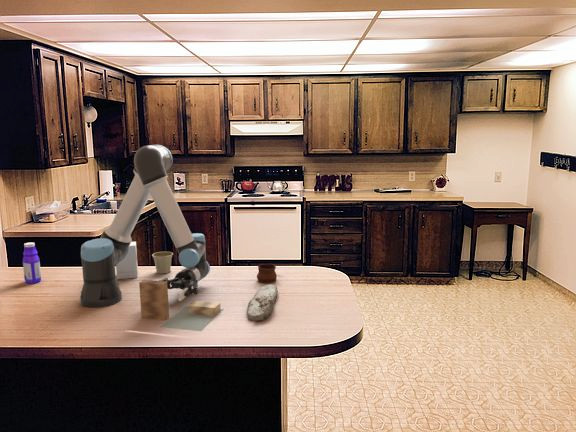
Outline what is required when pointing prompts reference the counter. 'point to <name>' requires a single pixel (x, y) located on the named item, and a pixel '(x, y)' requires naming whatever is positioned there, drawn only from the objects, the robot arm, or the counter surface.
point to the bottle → (31, 264)
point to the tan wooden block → (204, 308)
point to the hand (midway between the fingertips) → (161, 296)
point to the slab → (154, 299)
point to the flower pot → (162, 261)
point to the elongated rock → (262, 303)
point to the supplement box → (128, 264)
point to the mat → (188, 320)
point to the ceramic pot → (267, 273)
